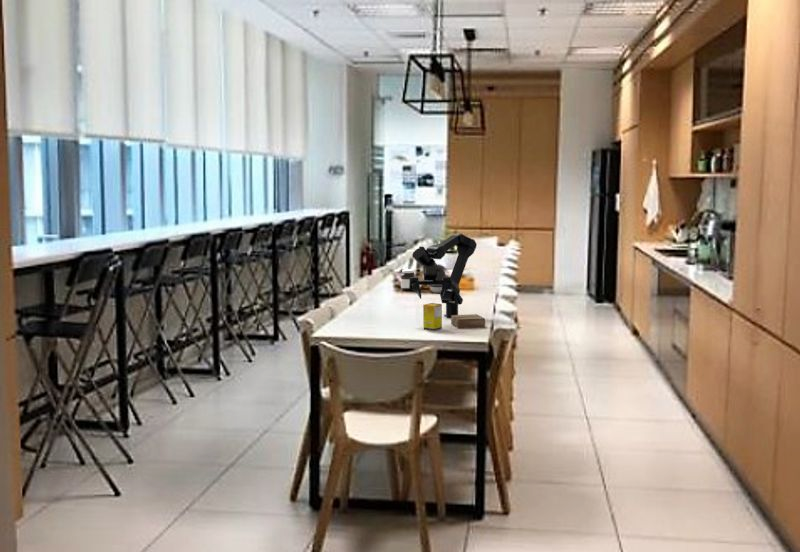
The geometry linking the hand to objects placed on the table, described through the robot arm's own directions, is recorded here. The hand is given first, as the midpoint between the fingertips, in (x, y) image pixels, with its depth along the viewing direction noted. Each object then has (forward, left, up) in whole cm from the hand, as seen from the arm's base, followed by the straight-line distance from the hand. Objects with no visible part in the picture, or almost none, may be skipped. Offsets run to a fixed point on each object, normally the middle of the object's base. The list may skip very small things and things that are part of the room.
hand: (431, 298), depth 404 cm
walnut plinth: (+3, +16, -12) cm, 20 cm away
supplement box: (+7, -1, -13) cm, 14 cm away
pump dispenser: (-106, +31, -13) cm, 112 cm away
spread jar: (-118, +18, -13) cm, 120 cm away
